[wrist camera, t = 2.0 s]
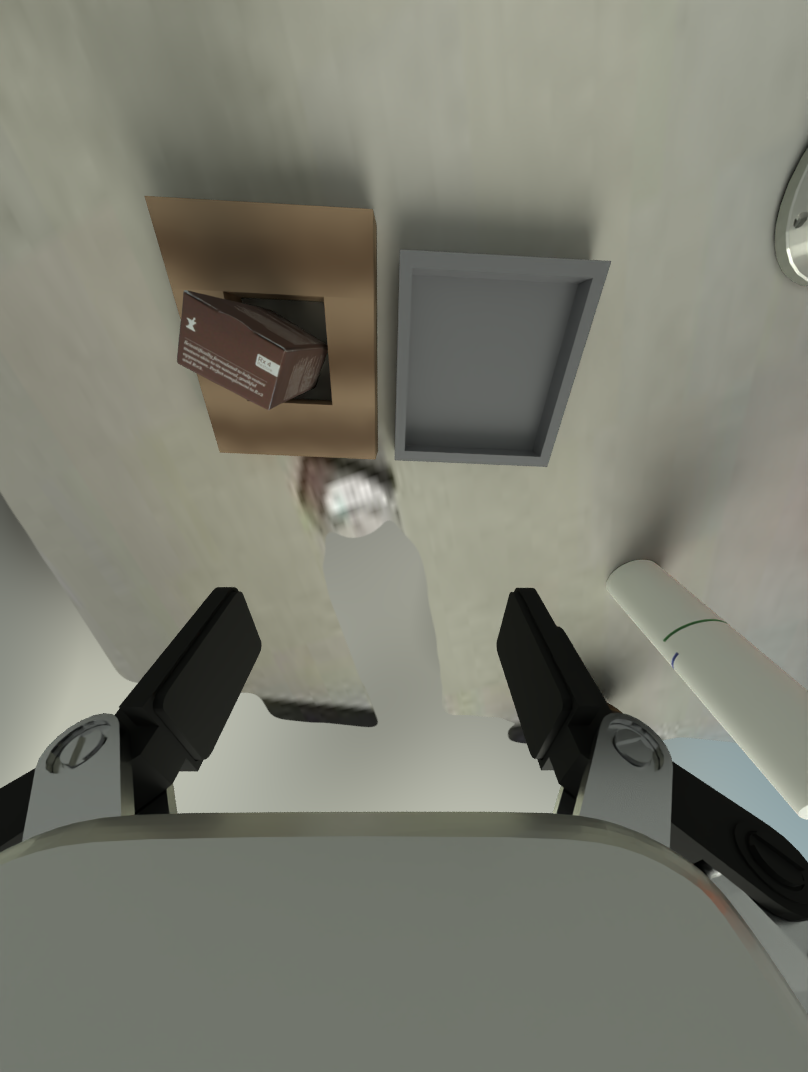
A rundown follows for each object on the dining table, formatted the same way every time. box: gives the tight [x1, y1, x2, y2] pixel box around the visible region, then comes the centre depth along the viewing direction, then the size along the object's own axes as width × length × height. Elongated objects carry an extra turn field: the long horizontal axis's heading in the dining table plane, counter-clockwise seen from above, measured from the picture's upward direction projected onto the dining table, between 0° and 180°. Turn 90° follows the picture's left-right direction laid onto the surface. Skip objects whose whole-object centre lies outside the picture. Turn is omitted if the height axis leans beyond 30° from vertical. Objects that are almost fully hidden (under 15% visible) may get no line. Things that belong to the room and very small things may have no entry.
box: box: [177, 290, 328, 410], centre depth 23 cm, size 6×4×12 cm
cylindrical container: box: [606, 560, 808, 819], centre depth 32 cm, size 7×7×25 cm
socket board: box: [145, 196, 378, 459], centre depth 27 cm, size 18×16×3 cm
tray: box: [395, 249, 611, 467], centre depth 27 cm, size 16×16×3 cm
